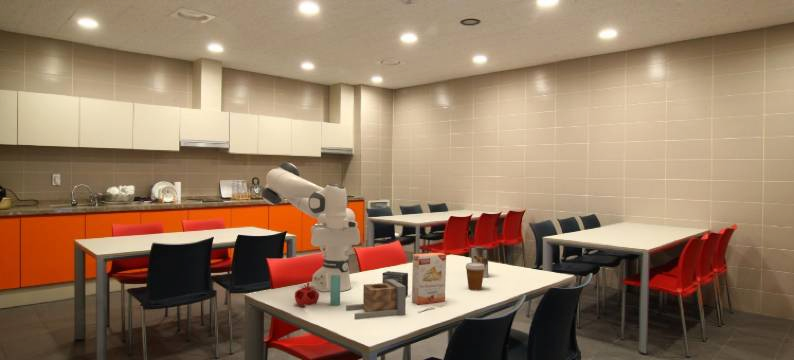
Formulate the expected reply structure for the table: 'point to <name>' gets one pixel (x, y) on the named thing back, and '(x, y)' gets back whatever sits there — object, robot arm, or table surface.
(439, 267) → the cracker box
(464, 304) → the table surface
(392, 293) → the socket block
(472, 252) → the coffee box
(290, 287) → the table surface
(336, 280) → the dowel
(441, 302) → the fork
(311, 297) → the pomegranate
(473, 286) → the disposable coffee cup
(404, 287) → the backstop
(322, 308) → the table surface
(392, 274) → the small box
